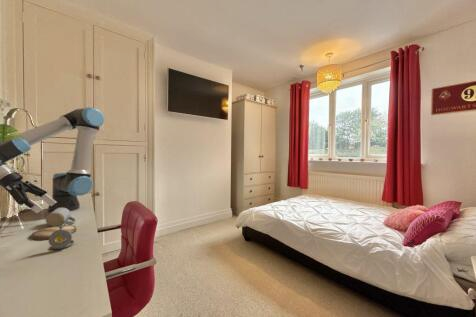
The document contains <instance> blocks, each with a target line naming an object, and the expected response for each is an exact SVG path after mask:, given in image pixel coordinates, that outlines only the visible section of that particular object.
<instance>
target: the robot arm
mask: <svg viewBox="0 0 476 317" xmlns="http://www.w3.org/2000/svg"><path fill="white" fill-rule="evenodd" d="M104 123H105V116H104V114H103V112H102V111H101V110H99V109H98V108H96V107H90V106H88V107H83V108H76V109H73V110H71V111H70V112H68V113H65V114H62V115H61V116H59V118H58V119H55V120H52V121H49V122H47V123H44V124H42V125H39V126H35V127H33V128H31V129H28V130H25V131H23V132H21V133H19V134H21V135H22V136H23V138H24V139H22V138H20V137H18V138H15V139H12V140H10V141H4V142H0V186H1V188H4V190H6V191H7V192H8V193H9V195H10V196H11V198H12V199H13V200H14V201H15V202H16V204H18V205H20V206H23V205H25V207H27V208H28V209H30V210H32V211H33V212H34V213H35V214H39V213H40V212H42V211H43V210H44V208H43V207H42V206H40V205H39V204H38V203H36V202H35V201H34V200H32V199H29V197H28V195H27V193H29V194H32V195H34V196H37V197H39V198H40V200H42V201H43V202H45V203H46V204H47V205H48V208H47V211H48V212H49V213H52V212H53V211H54V210H55V209H57V208H66V209H68V210H69V211H70V212H71V210H72V211H75V209H76V210H78V209H80V208H79V207H80V206H81V204H80V201H79V199H78V197H79V196H80V197H81V196H85V195H87V194H88V193H90V191H91V190H92V189H93V187H94V182H93V180H92V178H91V177H92V176H91V175H92V173H91V172H90V171H89V170H90V165H91V164H90V163H91V159H92V155H93V154H92V153H93V149H94V148H93V147H94V141H95V137H96V134H97V133H99V131H100V127H101V126H102V125H103V124H104ZM75 129H76V130H77V136H76V140H75V145H74V151H73V156H72V162H71V167H70V169H69V170H67V171H66V172H60V173H59V172H57V173H56V172H55V173H54V174H53V176H52V195H51V196H52V197H51V196H49V195H48V191H46V190H44V189H43V188H41V187H40V186H37V185H35V184H33V183H32V182H30V181H29V180H26V181H22V180H23V178H24V176H23V175H22V174H20V173H19V172H17V171H16V170H15V169H14V168H13V167H11V166H10V165H8V163H6V162H8V161H11V160H13V159H15V158H17V157H19V156H21V155H23V154H25V153H27V152H28V151H30V150H32V145H35V144H38V143H40V142H42V141H45V140H46V139H50V138H52V137H53V136H56V135H58V134H61V133H64V132H65V131H72V130H75ZM77 196H78V197H77ZM77 208H78V209H77Z"/></svg>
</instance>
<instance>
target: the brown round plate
mask: <svg viewBox="0 0 476 317" xmlns="http://www.w3.org/2000/svg"><path fill="white" fill-rule="evenodd" d="M61 225H62V226H64V224H61ZM61 225H59V226H58V227H57V226H50V227H45V228H42V229H41V228H40V229H38V230H36V231H34V232H32V233H31V234H30V239H31V240H33V241H49V237H50V235H51V234H52V233H53V232H55V231H57V230H60V228H59V227H60V226H61ZM77 228H78V227H77V226H75V225H73V224H65V226H64V227H63V228H62V229H65V230H68V231H70V232H71V234H72V235H73V234H74V233H75V232H76V231H77ZM56 237H57V236H56Z"/></svg>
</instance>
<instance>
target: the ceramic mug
mask: <svg viewBox="0 0 476 317" xmlns="http://www.w3.org/2000/svg"><path fill="white" fill-rule="evenodd" d="M45 221H46V224H47V225H48V226H50V227H54V226H56V225H57V224H59V225H57V226H61V225H62V224H61V223H63V224H65V225H73V223H74V224H75V222H76V218H74V217H73V216H72V215H71V211H69V210H68V209H66V208H57V209H55V210H54V211H53V212H49V214H48V215H47V216H46V219H45Z"/></svg>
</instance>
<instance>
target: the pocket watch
mask: <svg viewBox="0 0 476 317" xmlns="http://www.w3.org/2000/svg"><path fill="white" fill-rule="evenodd" d="M57 225H59V224H57ZM57 225H56V226H57ZM62 225H64V226H65V225H66V224H65V223H61V225H59V226H60V227H59V228H60V230H57V231H55V232H53V233H52V234H51V235H50V237H49V240H48V244H49V246H51V249H54V250H59V249H65V248H68V247H71V246H72V245H74V243H75V241H74V240H73V233H72V234H71V232H70V231H68V230H65V229H62V228H63V227H64V226H62ZM57 227H58V226H57ZM56 236H57V237H56Z"/></svg>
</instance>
